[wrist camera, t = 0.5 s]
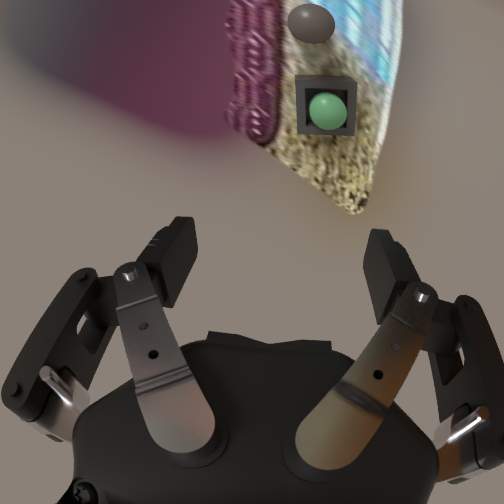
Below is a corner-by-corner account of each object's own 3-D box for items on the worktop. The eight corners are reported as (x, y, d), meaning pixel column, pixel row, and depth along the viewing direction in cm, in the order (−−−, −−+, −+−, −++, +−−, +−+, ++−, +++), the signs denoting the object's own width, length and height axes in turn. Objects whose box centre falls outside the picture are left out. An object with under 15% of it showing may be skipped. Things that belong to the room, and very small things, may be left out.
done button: (308, 91, 26) (309, 95, 24) (344, 93, 25) (347, 97, 24) (309, 123, 28) (310, 129, 27) (343, 124, 28) (346, 130, 26)
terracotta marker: (281, 22, 22) (277, 18, 16) (309, 5, 20) (315, -4, 14) (303, 46, 24) (307, 51, 18) (330, 30, 22) (344, 30, 16)
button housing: (294, 75, 27) (295, 79, 25) (350, 77, 26) (356, 82, 24) (297, 124, 32) (297, 134, 30) (349, 126, 31) (354, 136, 29)
